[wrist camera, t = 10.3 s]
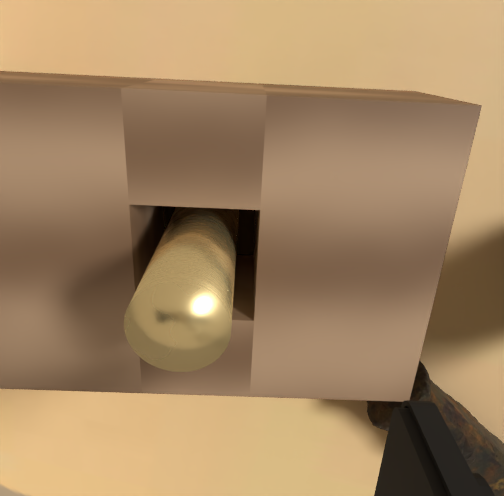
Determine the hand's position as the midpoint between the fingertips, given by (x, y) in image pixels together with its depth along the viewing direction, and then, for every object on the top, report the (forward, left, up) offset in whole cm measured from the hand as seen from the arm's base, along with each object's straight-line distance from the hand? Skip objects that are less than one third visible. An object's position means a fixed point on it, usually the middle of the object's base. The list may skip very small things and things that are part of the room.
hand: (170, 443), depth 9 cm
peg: (0, 0, -14) cm, 14 cm away
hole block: (0, 0, -14) cm, 14 cm away
